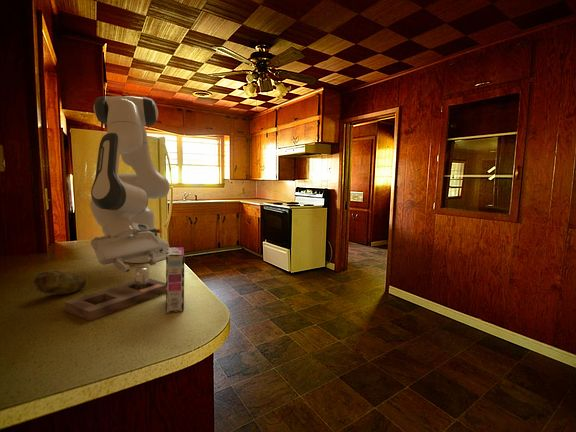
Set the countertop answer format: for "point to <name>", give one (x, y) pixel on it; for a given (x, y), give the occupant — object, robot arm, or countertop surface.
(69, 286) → the potato
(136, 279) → the metal peg
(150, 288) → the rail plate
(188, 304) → the countertop surface
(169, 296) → the candy bar box
